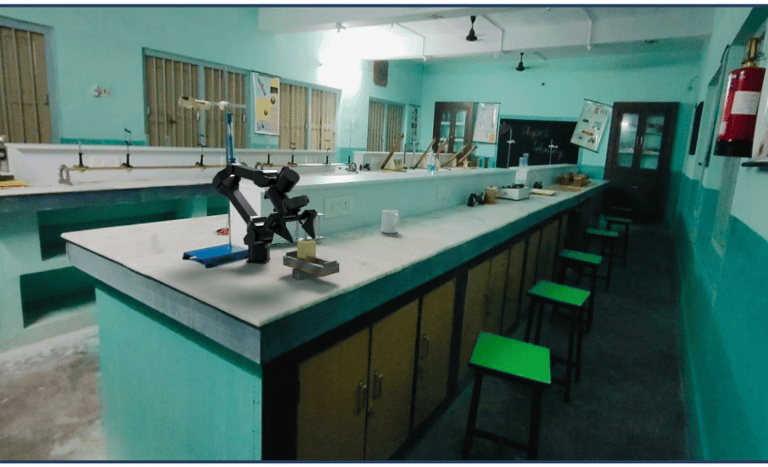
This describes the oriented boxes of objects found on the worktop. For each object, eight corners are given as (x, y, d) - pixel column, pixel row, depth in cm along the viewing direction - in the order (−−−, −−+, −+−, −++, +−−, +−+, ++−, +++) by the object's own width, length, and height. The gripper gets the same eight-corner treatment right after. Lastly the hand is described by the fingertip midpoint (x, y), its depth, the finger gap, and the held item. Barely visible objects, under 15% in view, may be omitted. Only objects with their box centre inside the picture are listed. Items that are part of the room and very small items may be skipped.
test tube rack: (319, 237, 201) (319, 208, 198) (324, 239, 197) (324, 209, 195) (267, 243, 185) (266, 211, 183) (271, 245, 182) (271, 213, 179)
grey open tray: (281, 274, 143) (281, 253, 142) (302, 268, 150) (302, 248, 149) (319, 287, 133) (320, 264, 131) (340, 280, 140) (341, 259, 138)
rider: (297, 262, 141) (297, 240, 140) (307, 260, 145) (307, 239, 143) (305, 264, 139) (305, 243, 138) (315, 262, 142) (315, 241, 141)
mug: (378, 230, 221) (379, 209, 219) (392, 229, 225) (393, 209, 222) (390, 235, 210) (391, 213, 208) (404, 234, 214) (405, 213, 212)
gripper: (269, 187, 134) (293, 229, 130) (314, 184, 149) (337, 222, 144) (253, 209, 140) (275, 250, 136) (298, 205, 155) (319, 241, 150)
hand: (303, 240), depth 141 cm, fingers open, 9 cm apart
